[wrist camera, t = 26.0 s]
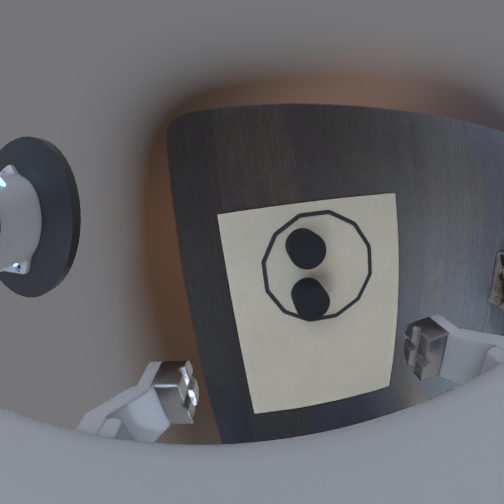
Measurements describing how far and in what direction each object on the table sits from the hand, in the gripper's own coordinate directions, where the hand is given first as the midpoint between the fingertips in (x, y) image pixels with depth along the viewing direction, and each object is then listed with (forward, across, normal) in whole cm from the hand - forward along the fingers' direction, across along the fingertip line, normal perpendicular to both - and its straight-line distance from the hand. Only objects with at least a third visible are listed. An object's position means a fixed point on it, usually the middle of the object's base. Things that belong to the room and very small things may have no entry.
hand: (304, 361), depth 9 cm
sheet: (+24, -6, +11) cm, 27 cm away
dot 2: (+24, -4, +7) cm, 25 cm away
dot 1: (+24, -4, +1) cm, 24 cm away
